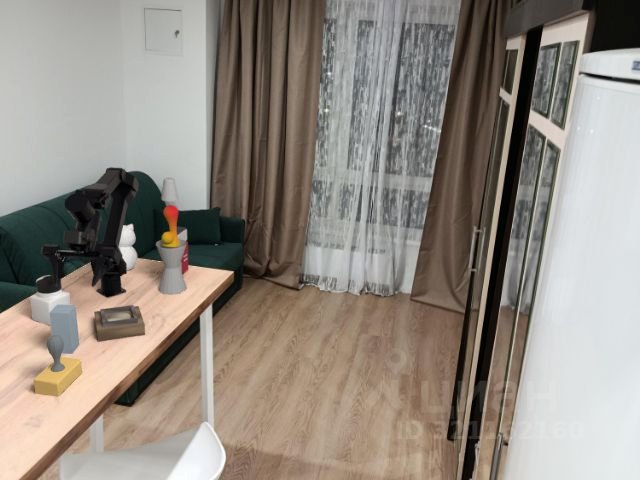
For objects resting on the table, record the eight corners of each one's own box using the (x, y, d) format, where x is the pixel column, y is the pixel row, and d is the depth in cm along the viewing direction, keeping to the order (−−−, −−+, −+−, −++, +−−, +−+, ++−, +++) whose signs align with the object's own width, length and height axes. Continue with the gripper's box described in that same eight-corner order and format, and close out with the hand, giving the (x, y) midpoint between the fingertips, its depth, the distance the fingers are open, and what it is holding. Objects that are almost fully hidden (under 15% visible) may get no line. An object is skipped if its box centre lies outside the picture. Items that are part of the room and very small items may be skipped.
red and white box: (175, 282, 189) (174, 238, 184) (163, 280, 190) (161, 236, 185) (189, 269, 199) (188, 227, 194) (177, 268, 200) (176, 225, 195)
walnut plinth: (95, 321, 162) (93, 307, 161) (139, 315, 167) (138, 302, 165) (98, 341, 152) (97, 327, 151) (145, 334, 157) (144, 320, 155)
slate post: (61, 343, 150) (57, 304, 147) (79, 344, 150) (75, 305, 147) (54, 353, 146) (49, 312, 142) (72, 353, 146) (68, 313, 142)
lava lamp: (170, 280, 190) (166, 173, 178) (193, 286, 187) (191, 177, 175) (151, 290, 182) (146, 179, 171) (175, 297, 179) (171, 183, 167)
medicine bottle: (72, 316, 164) (68, 276, 160) (51, 326, 158) (46, 285, 154) (53, 310, 167) (49, 270, 163) (32, 320, 161) (27, 279, 157)
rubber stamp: (60, 369, 139) (55, 324, 135) (83, 372, 139) (78, 327, 135) (34, 393, 130) (28, 345, 126) (59, 397, 129) (53, 348, 125)
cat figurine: (142, 262, 203) (139, 220, 198) (130, 276, 192) (127, 232, 186) (115, 261, 203) (112, 219, 198) (102, 275, 191) (99, 231, 186)
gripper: (39, 214, 150) (24, 271, 144) (114, 218, 151) (102, 275, 144) (55, 233, 161) (42, 288, 154) (125, 237, 161) (114, 291, 154)
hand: (74, 285), depth 151 cm, fingers open, 9 cm apart
